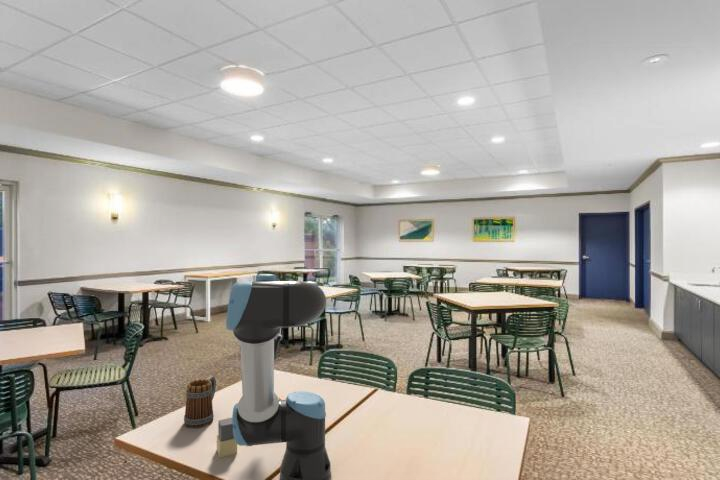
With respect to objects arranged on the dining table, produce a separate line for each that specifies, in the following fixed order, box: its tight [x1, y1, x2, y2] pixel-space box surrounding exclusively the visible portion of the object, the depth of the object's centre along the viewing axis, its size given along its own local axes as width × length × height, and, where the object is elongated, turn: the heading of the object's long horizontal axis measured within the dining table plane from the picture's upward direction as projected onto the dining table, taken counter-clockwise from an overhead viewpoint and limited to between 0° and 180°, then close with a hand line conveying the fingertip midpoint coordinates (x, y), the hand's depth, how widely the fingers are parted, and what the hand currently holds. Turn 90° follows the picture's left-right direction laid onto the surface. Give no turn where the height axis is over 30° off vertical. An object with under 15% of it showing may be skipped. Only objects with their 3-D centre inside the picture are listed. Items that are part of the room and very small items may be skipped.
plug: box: [216, 417, 238, 459], centre depth 132 cm, size 5×5×10 cm
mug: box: [183, 376, 217, 429], centre depth 155 cm, size 16×11×15 cm
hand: (264, 380), depth 146 cm, fingers closed
